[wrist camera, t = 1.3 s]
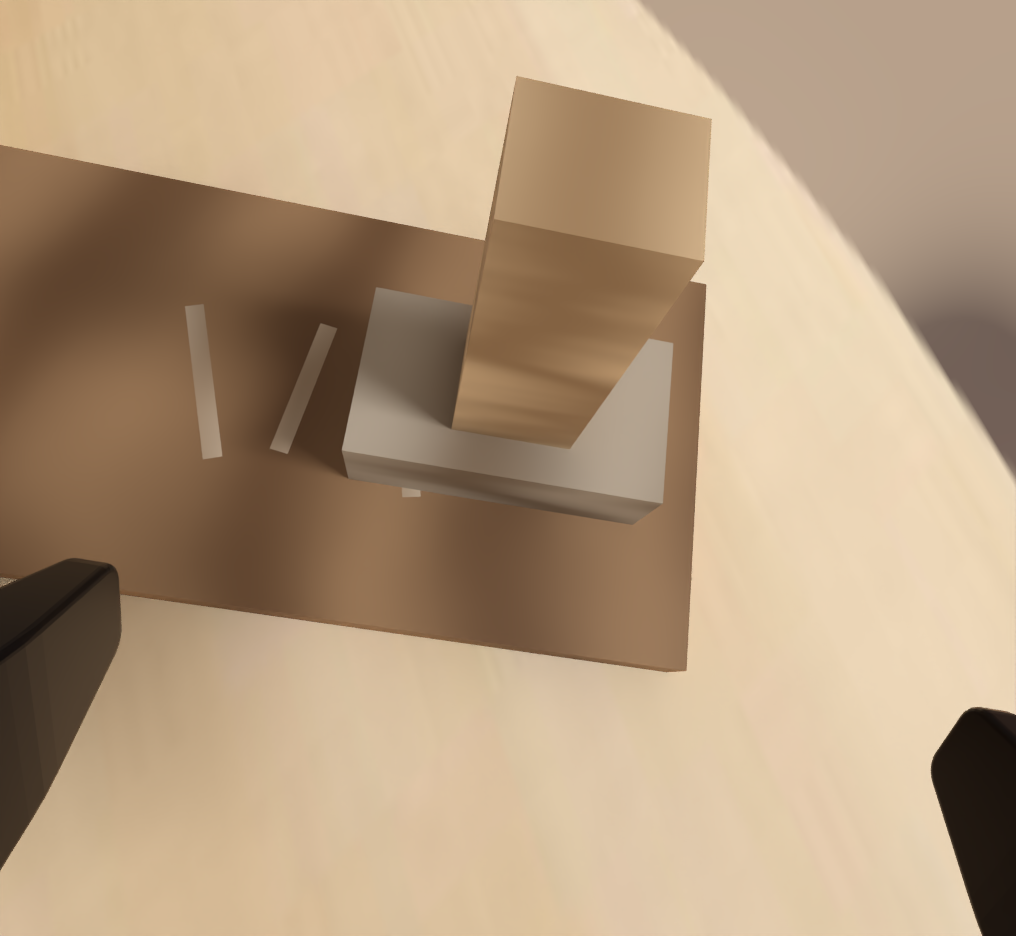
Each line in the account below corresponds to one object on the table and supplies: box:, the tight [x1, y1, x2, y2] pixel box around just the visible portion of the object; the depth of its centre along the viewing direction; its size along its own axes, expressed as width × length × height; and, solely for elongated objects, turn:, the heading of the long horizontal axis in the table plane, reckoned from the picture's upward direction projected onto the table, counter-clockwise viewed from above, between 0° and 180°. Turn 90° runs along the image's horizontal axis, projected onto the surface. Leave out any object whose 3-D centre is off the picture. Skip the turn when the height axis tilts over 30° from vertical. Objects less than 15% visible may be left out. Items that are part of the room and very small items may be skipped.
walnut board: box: [0, 145, 706, 672], centre depth 21 cm, size 22×12×2 cm, turn 82°
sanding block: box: [342, 76, 712, 525], centre depth 16 cm, size 8×4×11 cm, turn 82°
